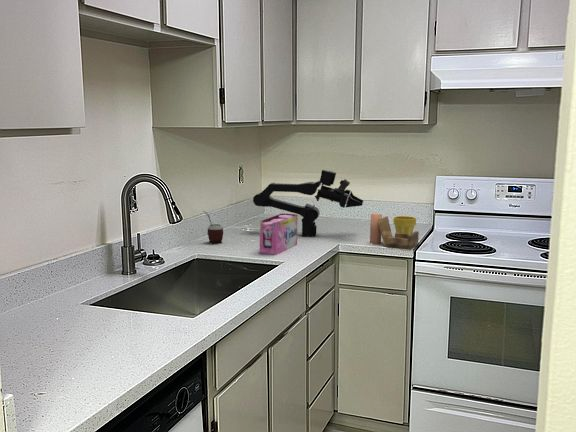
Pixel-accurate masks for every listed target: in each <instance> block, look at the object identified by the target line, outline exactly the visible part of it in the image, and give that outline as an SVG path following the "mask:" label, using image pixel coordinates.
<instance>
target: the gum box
mask: <svg viewBox="0 0 576 432" xmlns="http://www.w3.org/2000/svg"><path fill="white" fill-rule="evenodd" d="M298 215H299V214H296V213H286V212H285V213H283V212H282V213H278V214H276V215H274V216H271V217H270V216H269V217H267V218H264V219H262V220H260V222H259V223H260V225H259V252H258V253H260V254H266V255H275V256H276V255H278V254H280V253H283V252H285V251H286V250H289V249H291V248H293V247H295V246H297V245H298Z"/></svg>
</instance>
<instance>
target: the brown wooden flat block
mask: <svg viewBox="0 0 576 432" xmlns="http://www.w3.org/2000/svg"><path fill="white" fill-rule="evenodd" d="M378 222H379V227H380V231H381V240H382V244H383V246H384V247H387V237H393V233H392V229H391V224H390V221H389V216H382V218H381V219H379V220H378Z"/></svg>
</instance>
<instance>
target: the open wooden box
mask: <svg viewBox="0 0 576 432" xmlns="http://www.w3.org/2000/svg"><path fill="white" fill-rule="evenodd" d="M419 234H420V233H419V231H416V230H415V231H413V233H412V234H404V233H396V232H395V233H394V237H393V236H392V237H387V246H386V247H387V248H390V249H398V250H399V249H401V250H408V251H410V250H413V249H414V248H415V247H417V246H418V245H419Z"/></svg>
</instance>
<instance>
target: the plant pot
mask: <svg viewBox="0 0 576 432" xmlns="http://www.w3.org/2000/svg"><path fill="white" fill-rule="evenodd" d="M393 225H394V228H395V233H404V234H412V233H413V232H414V230H415V227H416V225H417V218H416V217H415V216H407V215H397V216H393Z"/></svg>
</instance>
